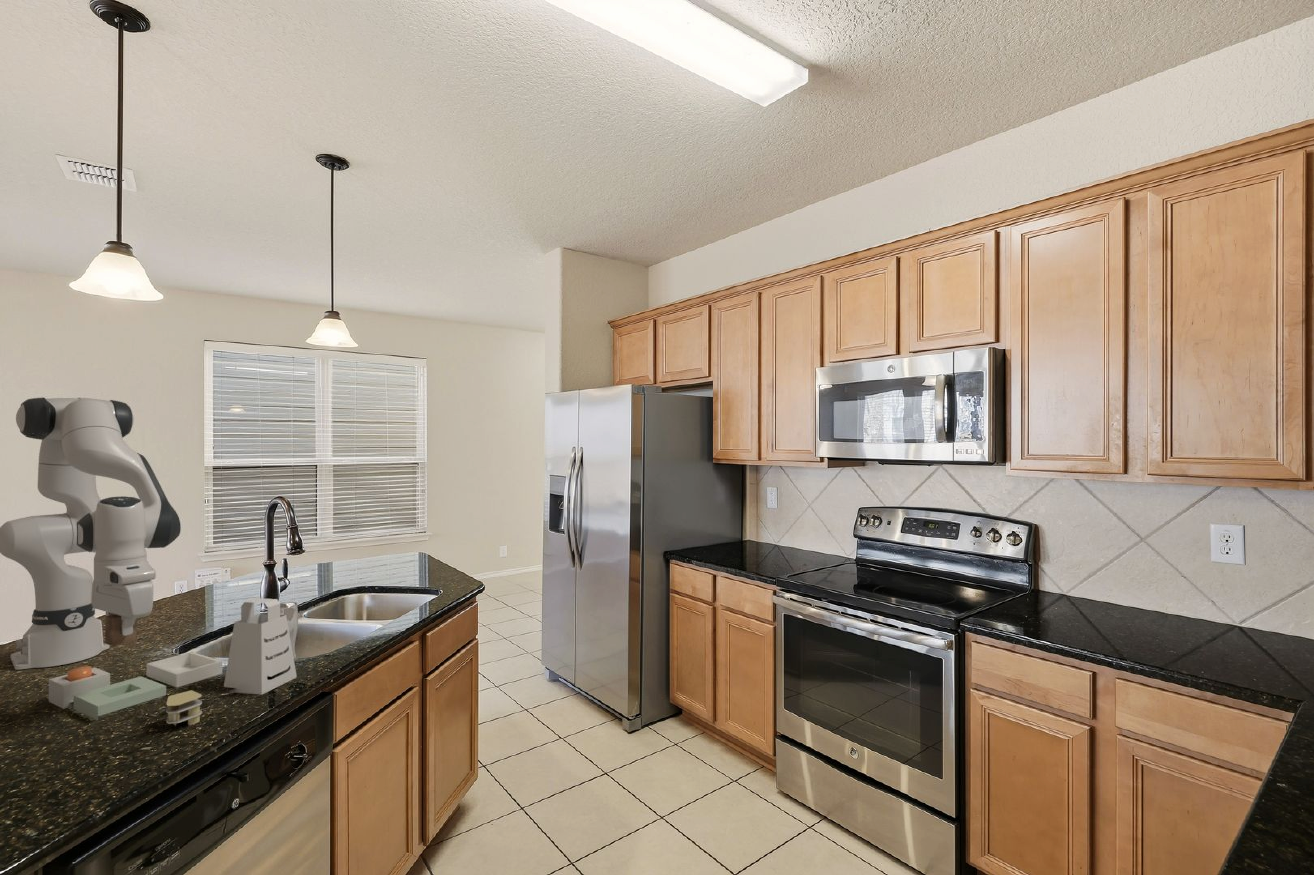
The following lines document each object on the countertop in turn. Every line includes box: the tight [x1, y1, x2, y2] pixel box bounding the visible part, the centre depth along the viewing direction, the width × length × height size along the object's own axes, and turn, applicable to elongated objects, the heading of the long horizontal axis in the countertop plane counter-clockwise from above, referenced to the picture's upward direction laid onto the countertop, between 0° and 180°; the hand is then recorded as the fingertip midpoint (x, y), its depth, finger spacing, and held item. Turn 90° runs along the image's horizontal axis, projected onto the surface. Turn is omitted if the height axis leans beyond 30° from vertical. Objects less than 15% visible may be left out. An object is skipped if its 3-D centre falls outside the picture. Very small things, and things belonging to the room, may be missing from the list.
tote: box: [146, 651, 223, 688], centre depth 149 cm, size 15×10×4 cm, turn 62°
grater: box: [223, 597, 298, 696], centre depth 146 cm, size 10×10×20 cm
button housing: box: [48, 667, 111, 710], centre depth 138 cm, size 8×8×5 cm
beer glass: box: [266, 601, 299, 660], centre depth 160 cm, size 7×7×15 cm
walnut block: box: [104, 614, 137, 647], centre depth 135 cm, size 4×4×6 cm
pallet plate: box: [73, 675, 167, 722], centre depth 135 cm, size 12×12×3 cm
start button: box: [67, 665, 93, 682], centre depth 138 cm, size 4×4×3 cm
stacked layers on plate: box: [165, 689, 203, 727], centre depth 126 cm, size 10×9×6 cm
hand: (120, 632), depth 135 cm, fingers closed on walnut block, 4 cm apart
